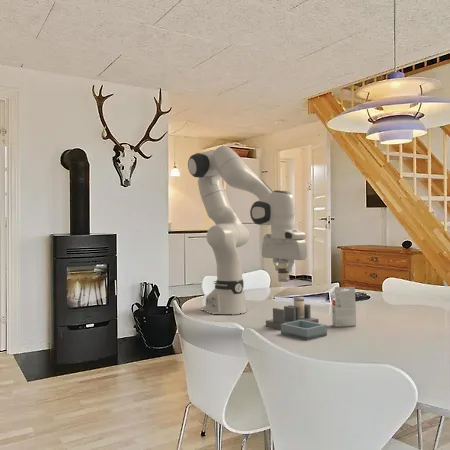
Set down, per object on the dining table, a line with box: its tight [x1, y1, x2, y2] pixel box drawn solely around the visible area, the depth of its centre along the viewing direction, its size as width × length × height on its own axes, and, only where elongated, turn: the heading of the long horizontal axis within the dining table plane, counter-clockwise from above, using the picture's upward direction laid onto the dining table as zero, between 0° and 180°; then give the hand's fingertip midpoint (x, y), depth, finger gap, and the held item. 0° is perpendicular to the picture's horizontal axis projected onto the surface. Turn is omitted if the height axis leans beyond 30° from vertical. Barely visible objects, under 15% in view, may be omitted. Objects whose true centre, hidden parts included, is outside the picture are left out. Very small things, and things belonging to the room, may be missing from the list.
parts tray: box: [280, 320, 328, 341], centre depth 159 cm, size 12×10×4 cm
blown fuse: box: [277, 259, 290, 283], centre depth 171 cm, size 4×4×8 cm
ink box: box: [331, 286, 357, 328], centre depth 171 cm, size 4×8×15 cm, turn 96°
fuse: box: [293, 296, 305, 319], centre depth 176 cm, size 4×4×8 cm
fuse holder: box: [265, 303, 319, 330], centre depth 174 cm, size 12×16×7 cm
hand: (283, 271), depth 171 cm, fingers closed on blown fuse, 4 cm apart
